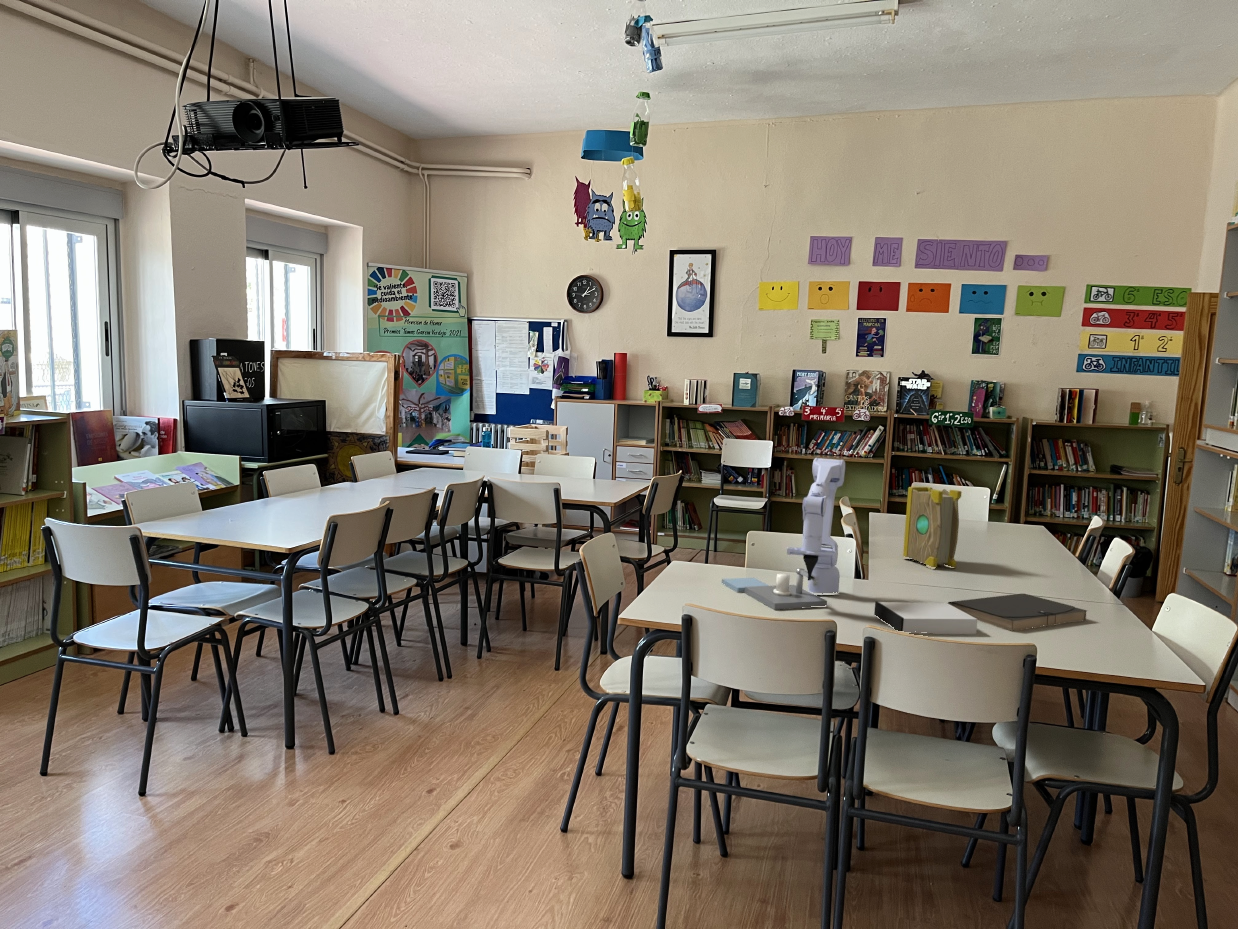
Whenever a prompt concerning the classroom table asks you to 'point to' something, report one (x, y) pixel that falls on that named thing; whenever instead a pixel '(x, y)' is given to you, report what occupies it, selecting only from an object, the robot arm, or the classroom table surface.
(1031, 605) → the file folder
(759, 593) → the grey socket base
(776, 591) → the plug
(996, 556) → the classroom table surface
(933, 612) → the disc drive
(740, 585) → the mat
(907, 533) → the decorative book
